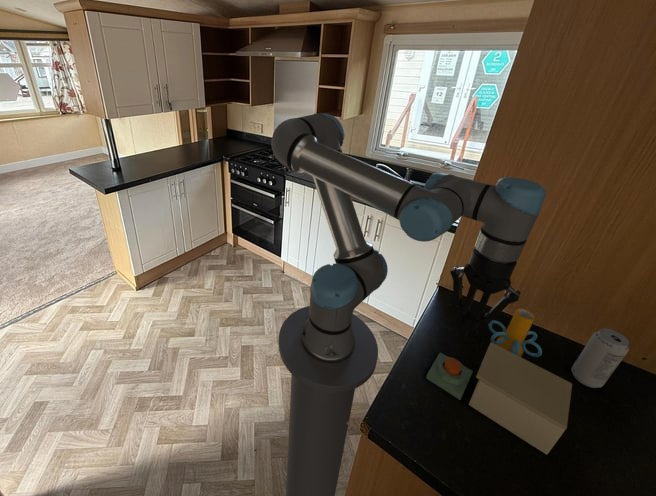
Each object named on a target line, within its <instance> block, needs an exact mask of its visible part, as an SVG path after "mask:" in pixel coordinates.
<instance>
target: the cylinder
mask: <svg viewBox="0 0 656 496" xmlns="http://www.w3.org/2000/svg"><path fill="white" fill-rule="evenodd" d="M535 320H536V315H535V314H534V313H533V312H531V311H530V310H528V309H525V308H523V307H522V308H520V307H519V308H516V309H515V311H514V313H513V315H512V317H511V320H510V322H509V323H508V326H507V327H506V326H505V325H504V323H502V322H500V321H498V320H492V321H491V322H490V323H489V324H487V325H488V326H487V327H488V329H489V330H490V332H491V333H492V335H491V337H490V343H491V342H492V343H494V344H496V345H498V346H500V347H502V348H504V349H505V350H507V351H509V352H511V353H513V354H515V355H517V356H519V357H521V358H523V355H524V353H526V354H527V355H528V356H530V357H532V358H533V357H534V358H539V357H541V356H542V354H543V349H542V348H541V346H540V345H539V344H538V343H537V342H535V341H536V340H537V338H538V334H537V333H536V332H535V331H533V330H530V329H531V327H532V326H533V324H534V322H535ZM493 324H496V325H498V326H500V328H501V329H502V331H496V330H495V329H494V328H493ZM529 335H533V336H532V337H531V338H529V339H526V337H527V336H529ZM495 339H496V340H495ZM525 339H526V340H525ZM528 344H530V345H533V346H534V347H535V348H536V350H537V352H536V353H533V352H531V351H529V350H528V349H527V348H526V345H528Z"/></svg>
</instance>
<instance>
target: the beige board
mask: <svg viewBox="0 0 656 496" xmlns="http://www.w3.org/2000/svg"><path fill="white" fill-rule="evenodd" d="M475 378H476V379H477V380H481V381H483V382H484V383H486V384H488V385H489V386H491V387H493V388H495V389H496V390H498V391H500V392H501V393H503V394H505V395H506V396H508V397H510V398H512V399H513V400H515V401H517V402H518V403H520V404H522V405H523V406H525V407H527V408H528V409H530V410H532V411H534V412H535V413H537V414H539V415H540V416H542V417H544V418H545V419H547V420H549V421H551V422H552V423H554V424H556V425H557V426H559V427H561V428H562V429H564V430H565V431H566V430H567V428H568V423H569V415H570V414H569V413H570V404H571V396H572V389H573V383H572V382H570V381H569V380H566V379H564V378H563V377H560V376H558V375H556V374H555V373H552V372H550V371H548V370H546V369H545V368H543V367H540V366H539V365H536V364H535V363H533V362H531V361H529V360H527V359H525V358H523V357H519V356H517V355H515V354H513V353H511V352H509V351H507V350H505V349H504V348H502V347H500V346H498V345H496V344H494V343H492V342H491V341H490V342H489V346H488V347H487V349H486V352H485V355H484V357H483V359H482V361H481V364H480V366H479V369H478V370H477V374H476V375H475Z"/></svg>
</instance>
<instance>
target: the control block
mask: <svg viewBox="0 0 656 496" xmlns="http://www.w3.org/2000/svg"><path fill="white" fill-rule="evenodd" d="M447 358H453V359H455V360H457V361H458V362H459V363H460V364H461V366H462V369H461V371H460V373H459V375H452V374H450V373H448V372H447V371H446V370H445V368H444V363H445V361H446V359H447ZM472 375H473V370H472V369H470V368H469V367H466V366H465V365H464V364H463V363H462V362H461V361H459V360H458V359H456V358H454V357H450V356H447V355H445V354H444V353H442V352H439V353H438V355H437V357H436V358H435V360H434V361H433V363H432V365H431V366H430V369H429V370H428V372H427V374H426V377H425V379H427V380H428V381H429V382H431V383H433V384H435V385H436V386H437V387H439V388H440V389H442V390H443V391H445V392H447V393H448V394H450V395H451V396H453V397H454V398H455V399H458V400H459V401H461V399H462V397H463V395H464V393H465V390H466V388H467V386H468V383H469V382H470V379H471V378H472Z"/></svg>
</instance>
